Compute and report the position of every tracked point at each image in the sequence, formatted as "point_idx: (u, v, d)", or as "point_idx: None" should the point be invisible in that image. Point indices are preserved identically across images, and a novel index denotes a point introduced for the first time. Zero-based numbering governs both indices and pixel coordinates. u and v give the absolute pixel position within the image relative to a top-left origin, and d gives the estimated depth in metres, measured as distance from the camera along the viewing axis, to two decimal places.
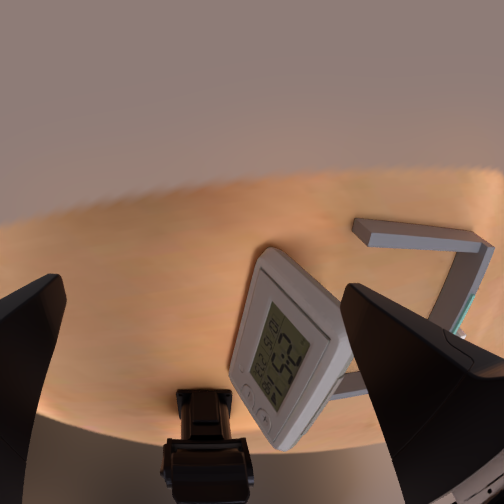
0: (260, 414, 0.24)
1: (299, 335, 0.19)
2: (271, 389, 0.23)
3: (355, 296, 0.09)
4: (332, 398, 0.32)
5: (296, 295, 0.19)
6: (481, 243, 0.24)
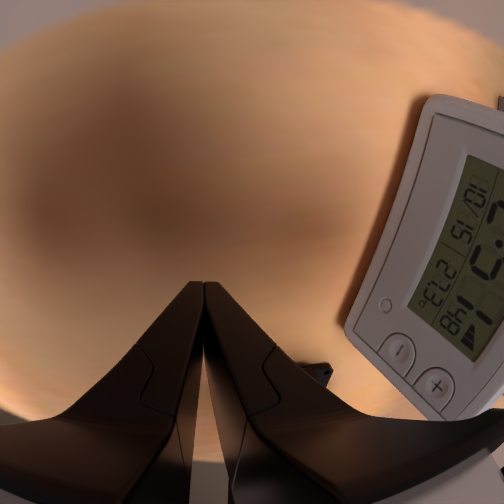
0: (427, 380, 0.12)
1: None
2: (465, 321, 0.11)
3: None
4: None
5: None
6: None
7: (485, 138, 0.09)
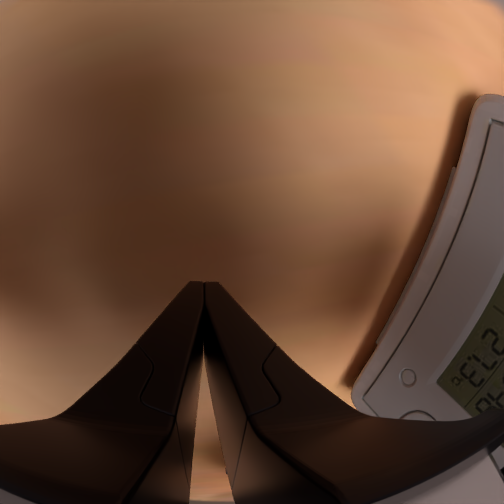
0: None
1: None
2: None
3: None
4: None
5: None
6: None
7: None
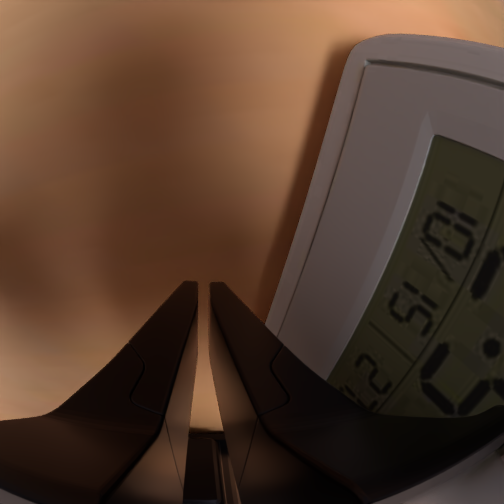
0: None
1: None
2: None
3: (209, 296, 0.08)
4: None
5: None
6: None
7: (474, 96, 0.04)
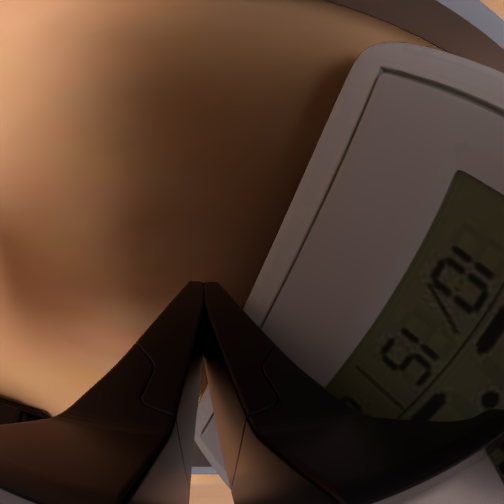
0: None
1: None
2: None
3: None
4: None
5: None
6: None
7: None
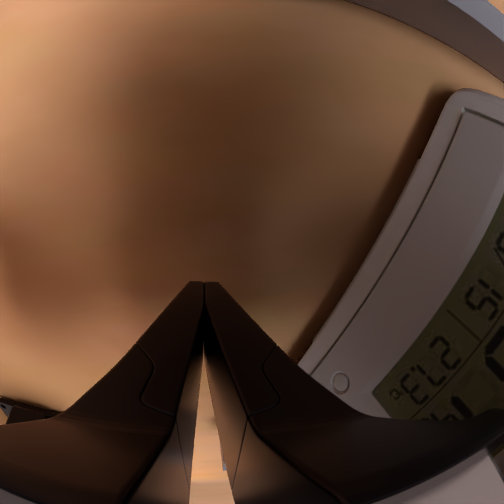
0: None
1: None
2: None
3: (204, 296, 0.08)
4: None
5: None
6: None
7: None
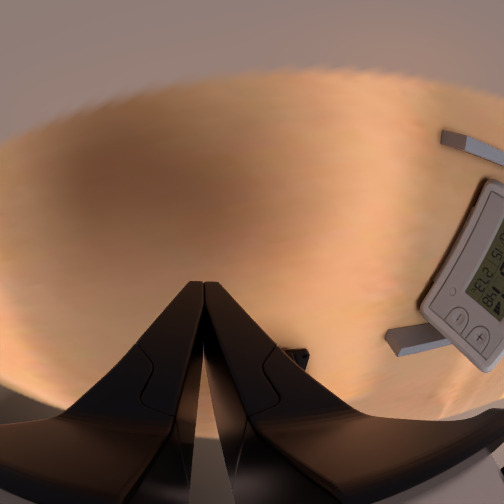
0: (474, 334, 0.21)
1: None
2: (495, 299, 0.20)
3: (204, 296, 0.08)
4: (418, 350, 0.26)
5: None
6: None
7: None
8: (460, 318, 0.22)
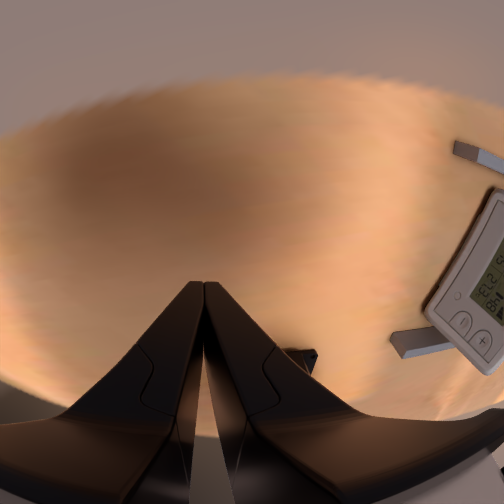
0: (477, 337, 0.21)
1: None
2: (499, 304, 0.20)
3: (204, 296, 0.08)
4: (422, 352, 0.27)
5: None
6: None
7: None
8: (464, 322, 0.23)
